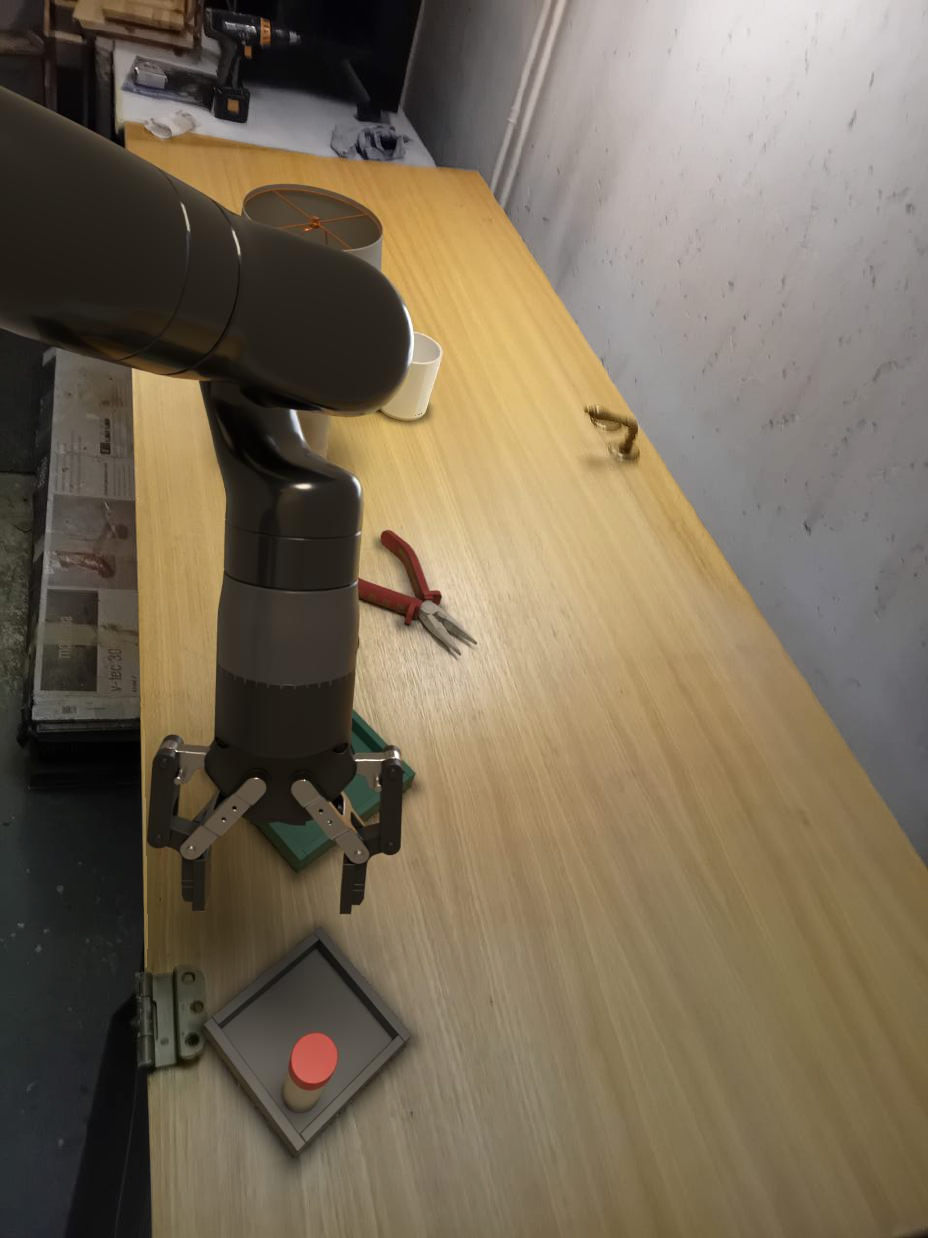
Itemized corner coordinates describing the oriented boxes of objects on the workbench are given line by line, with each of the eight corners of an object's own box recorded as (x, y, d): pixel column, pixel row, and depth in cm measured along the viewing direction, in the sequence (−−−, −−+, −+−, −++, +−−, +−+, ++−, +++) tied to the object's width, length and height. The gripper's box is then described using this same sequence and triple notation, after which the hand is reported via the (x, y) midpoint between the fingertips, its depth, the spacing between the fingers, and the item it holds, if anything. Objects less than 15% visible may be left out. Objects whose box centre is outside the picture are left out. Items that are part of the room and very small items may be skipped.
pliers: (433, 678, 94) (438, 664, 92) (319, 572, 100) (322, 557, 98) (497, 634, 101) (503, 620, 99) (387, 538, 107) (390, 523, 106)
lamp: (301, 408, 121) (328, 168, 97) (385, 482, 115) (436, 244, 90) (188, 445, 110) (185, 184, 85) (273, 529, 103) (297, 273, 79)
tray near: (294, 1158, 61) (297, 1152, 59) (203, 1033, 65) (203, 1024, 63) (406, 1043, 68) (412, 1035, 66) (317, 937, 72) (320, 926, 70)
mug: (402, 382, 132) (414, 324, 124) (440, 413, 129) (455, 355, 121) (350, 401, 125) (359, 340, 118) (389, 433, 122) (401, 373, 115)
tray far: (297, 873, 75) (300, 861, 73) (210, 770, 80) (210, 756, 78) (411, 786, 84) (416, 773, 82) (326, 698, 89) (329, 684, 87)
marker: (297, 1125, 62) (310, 1095, 55) (271, 1090, 63) (281, 1056, 56) (330, 1092, 64) (347, 1059, 57) (304, 1058, 65) (317, 1022, 58)
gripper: (133, 670, 40) (135, 946, 45) (422, 686, 42) (395, 948, 47) (167, 623, 47) (165, 865, 52) (413, 639, 49) (390, 870, 54)
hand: (274, 904), depth 49 cm, fingers open, 8 cm apart
